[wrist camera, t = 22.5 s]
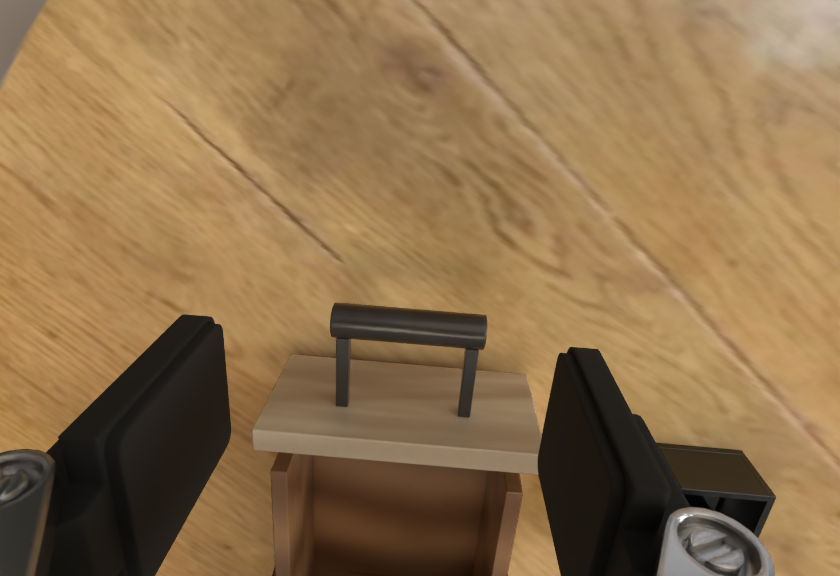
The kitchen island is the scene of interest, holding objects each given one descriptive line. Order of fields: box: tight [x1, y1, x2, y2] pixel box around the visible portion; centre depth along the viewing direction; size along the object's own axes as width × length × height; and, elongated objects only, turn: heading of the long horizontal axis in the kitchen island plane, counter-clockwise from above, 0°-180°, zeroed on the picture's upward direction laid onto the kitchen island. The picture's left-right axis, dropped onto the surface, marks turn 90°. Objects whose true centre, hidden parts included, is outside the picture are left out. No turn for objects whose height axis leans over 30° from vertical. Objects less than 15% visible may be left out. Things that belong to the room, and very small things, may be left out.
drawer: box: [252, 303, 542, 576], centre depth 30 cm, size 22×13×7 cm, turn 176°
